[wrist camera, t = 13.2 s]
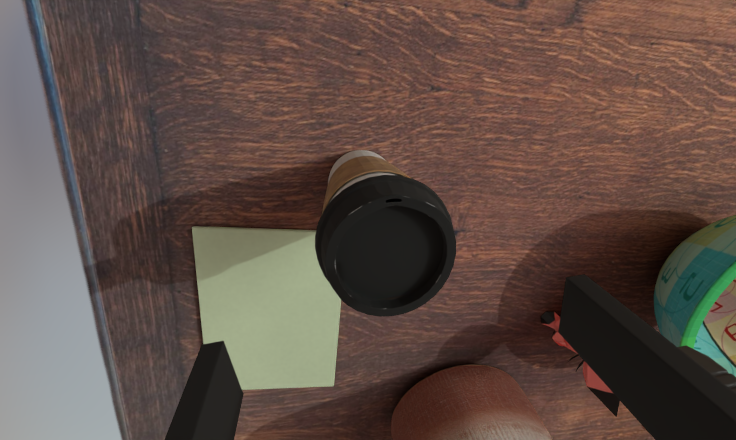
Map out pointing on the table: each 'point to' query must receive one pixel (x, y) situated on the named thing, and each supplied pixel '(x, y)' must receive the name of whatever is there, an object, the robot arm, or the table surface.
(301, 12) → the table surface
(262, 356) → the sage mat
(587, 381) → the cat figurine
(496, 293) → the table surface
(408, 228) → the coffee cup
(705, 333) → the bowl
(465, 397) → the planter
